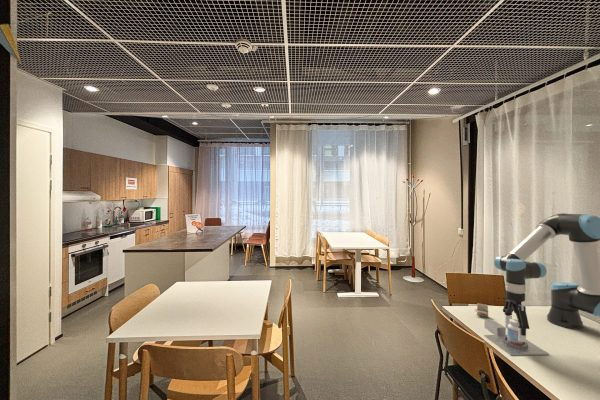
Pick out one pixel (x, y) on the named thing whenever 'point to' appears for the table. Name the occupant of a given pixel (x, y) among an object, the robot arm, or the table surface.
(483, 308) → the architectural model
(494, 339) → the duct collar
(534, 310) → the table surface
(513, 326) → the pill bottle
